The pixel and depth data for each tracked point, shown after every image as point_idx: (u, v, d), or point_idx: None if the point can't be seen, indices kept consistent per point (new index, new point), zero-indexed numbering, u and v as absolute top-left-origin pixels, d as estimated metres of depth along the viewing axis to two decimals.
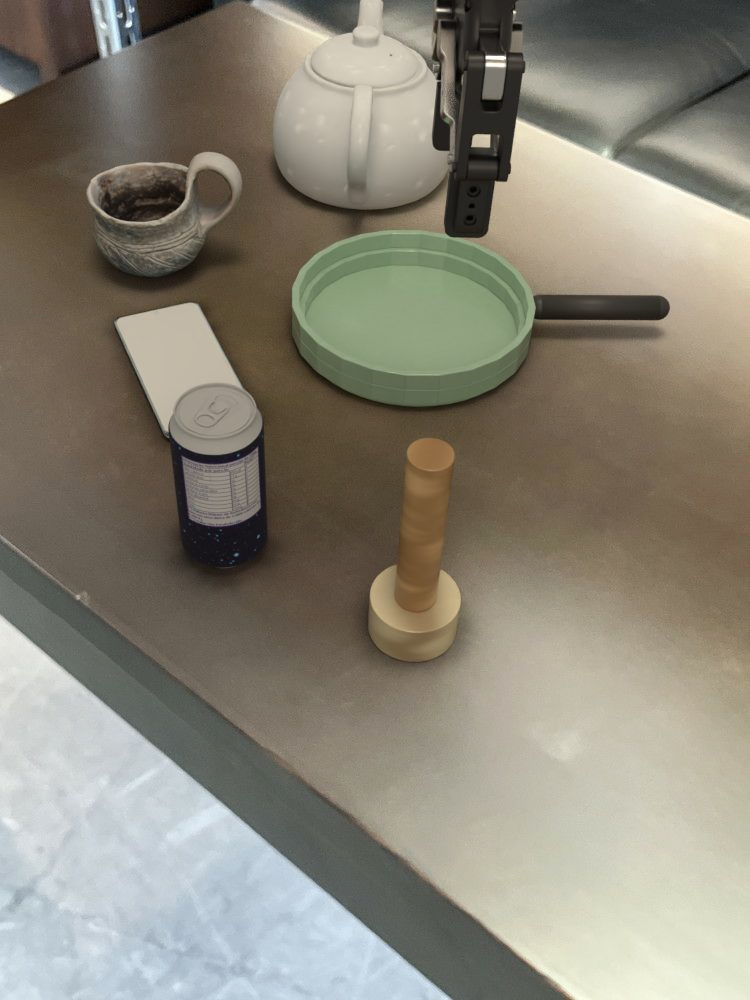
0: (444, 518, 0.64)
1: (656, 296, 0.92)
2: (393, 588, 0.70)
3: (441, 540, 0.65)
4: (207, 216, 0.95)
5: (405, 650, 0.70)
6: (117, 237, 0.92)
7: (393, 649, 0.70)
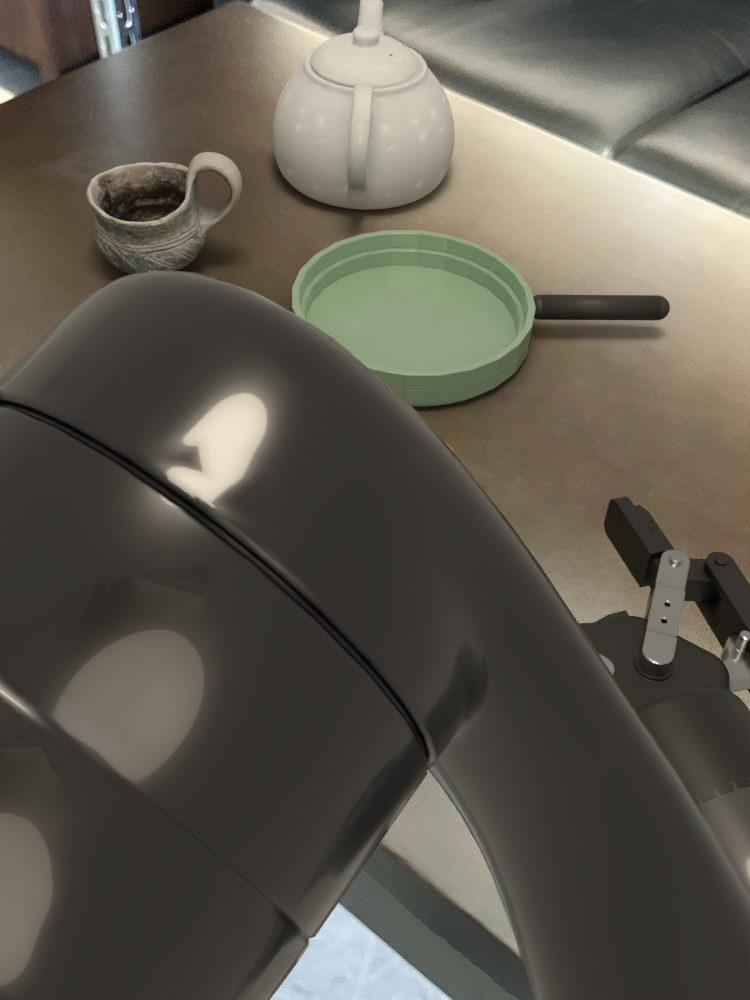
0: None
1: (656, 296, 0.92)
2: None
3: None
4: (207, 216, 0.95)
5: None
6: (117, 237, 0.92)
7: None
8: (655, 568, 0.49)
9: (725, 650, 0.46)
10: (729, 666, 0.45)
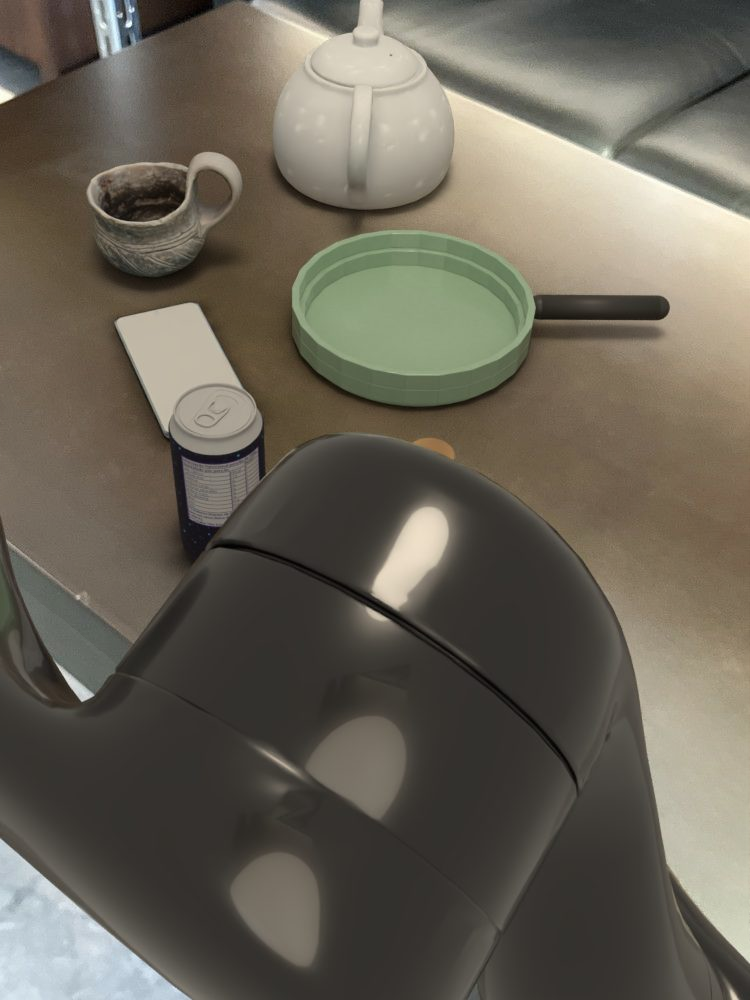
0: None
1: (656, 296, 0.92)
2: None
3: None
4: (207, 216, 0.95)
5: None
6: (117, 237, 0.92)
7: None
8: None
9: None
10: None
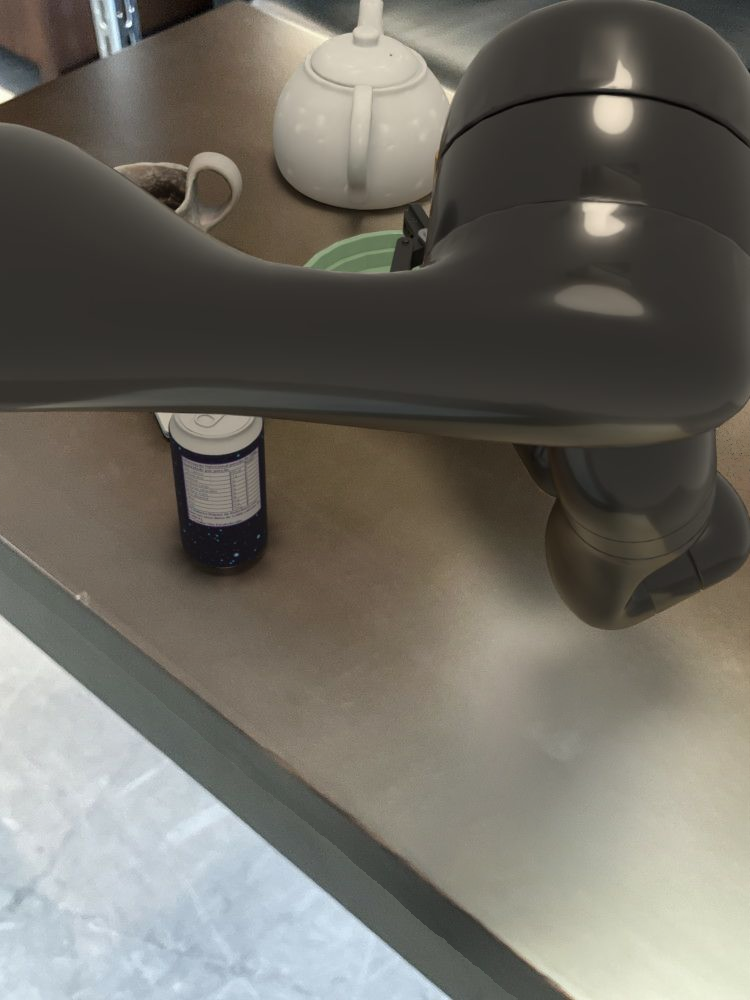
0: None
1: None
2: None
3: None
4: (207, 216, 0.95)
5: None
6: None
7: None
8: None
9: None
10: None
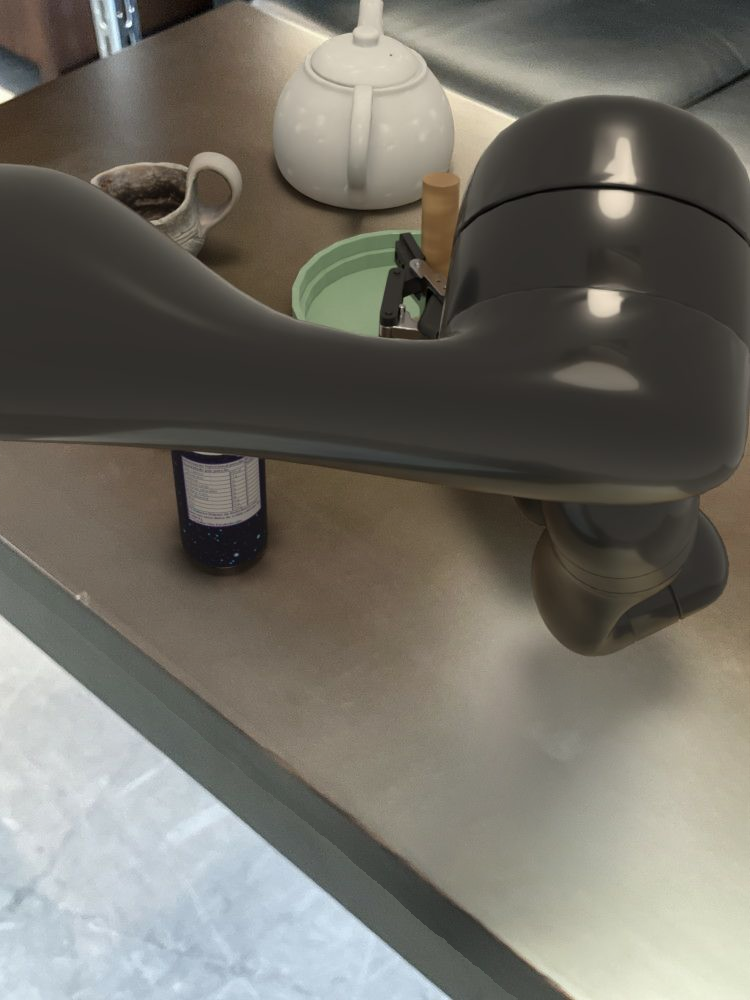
0: None
1: None
2: None
3: None
4: (207, 216, 0.95)
5: None
6: None
7: None
8: None
9: None
10: None
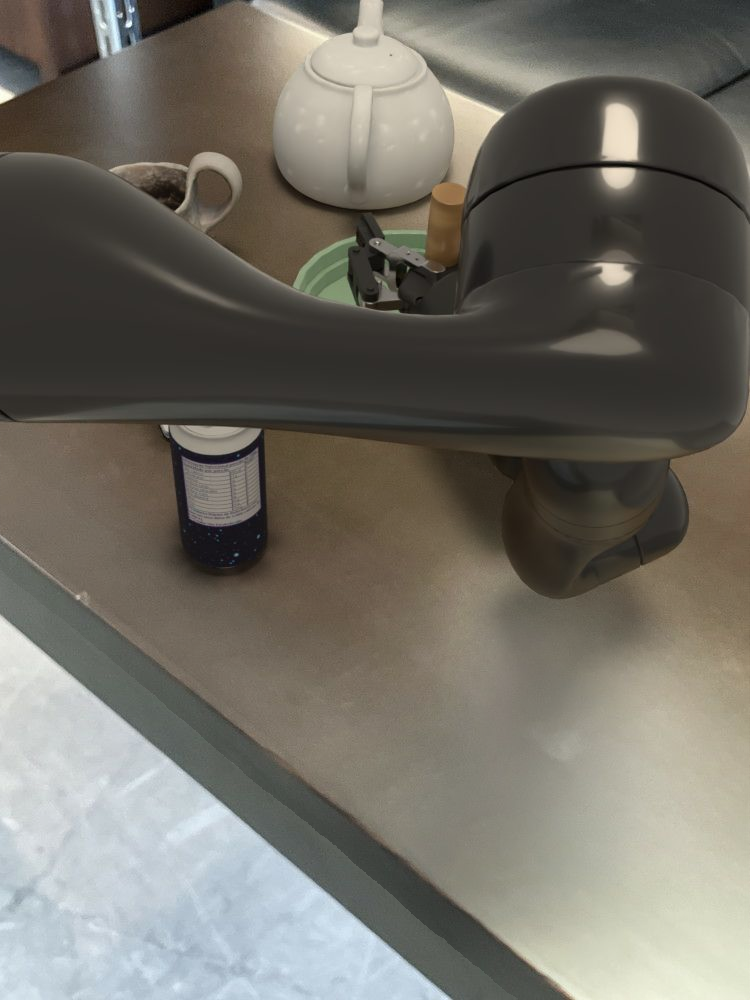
0: None
1: None
2: None
3: None
4: (207, 216, 0.95)
5: None
6: None
7: None
8: None
9: None
10: None
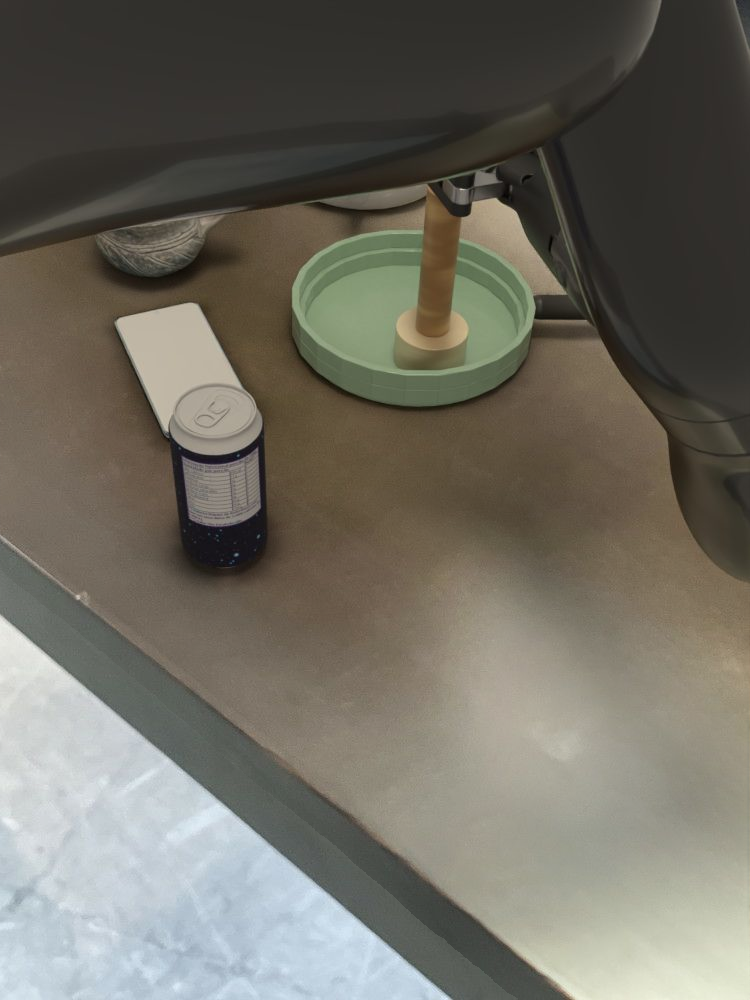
0: (455, 246, 0.82)
1: None
2: (415, 321, 0.88)
3: (453, 268, 0.83)
4: None
5: (422, 368, 0.87)
6: (117, 237, 0.92)
7: (413, 368, 0.88)
8: None
9: None
10: None
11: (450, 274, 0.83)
